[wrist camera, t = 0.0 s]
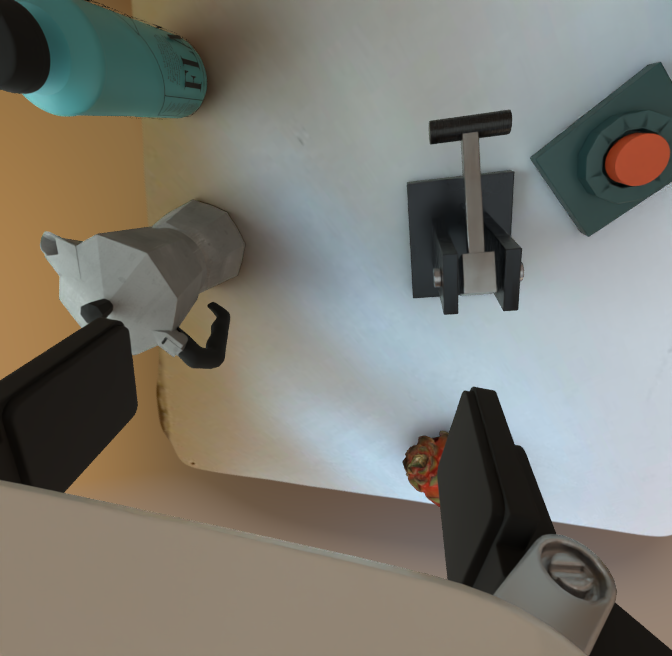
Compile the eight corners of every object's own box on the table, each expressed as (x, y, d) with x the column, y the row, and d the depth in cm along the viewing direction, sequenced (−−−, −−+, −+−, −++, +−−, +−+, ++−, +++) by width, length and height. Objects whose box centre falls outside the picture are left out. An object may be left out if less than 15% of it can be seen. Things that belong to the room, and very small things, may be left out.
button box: (648, 64, 32) (675, 57, 29) (699, 153, 34) (729, 156, 31) (529, 157, 36) (541, 161, 32) (581, 232, 38) (597, 242, 35)
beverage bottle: (229, 101, 37) (71, 81, 19) (170, 132, 39) (-25, 141, 21) (193, 19, 35) (-27, -90, 17) (131, 56, 36) (-124, -6, 19)
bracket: (406, 182, 38) (409, 207, 26) (510, 169, 36) (561, 191, 25) (412, 294, 43) (417, 356, 31) (505, 287, 41) (545, 351, 30)
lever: (428, 129, 31) (429, 113, 29) (505, 119, 30) (513, 101, 28) (437, 297, 31) (439, 295, 29) (514, 292, 30) (523, 290, 28)
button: (643, 121, 31) (655, 121, 29) (665, 160, 32) (679, 162, 30) (595, 156, 32) (605, 158, 31) (618, 192, 33) (629, 196, 31)
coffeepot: (130, 234, 44) (-24, 297, 28) (174, 163, 40) (24, 190, 24) (244, 326, 47) (164, 431, 31) (295, 269, 43) (234, 356, 27)
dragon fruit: (396, 422, 52) (488, 433, 53) (389, 493, 51) (483, 503, 52) (416, 429, 44) (524, 442, 44) (408, 514, 42) (520, 526, 43)
